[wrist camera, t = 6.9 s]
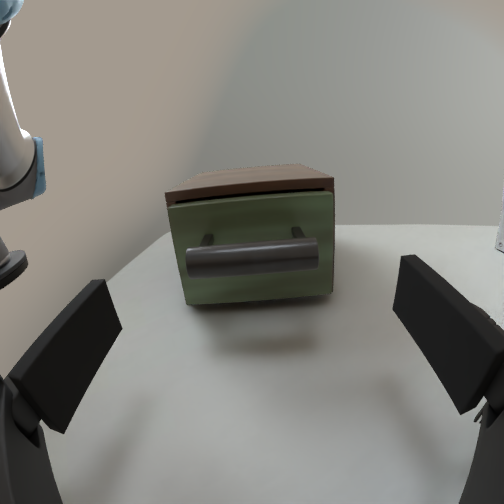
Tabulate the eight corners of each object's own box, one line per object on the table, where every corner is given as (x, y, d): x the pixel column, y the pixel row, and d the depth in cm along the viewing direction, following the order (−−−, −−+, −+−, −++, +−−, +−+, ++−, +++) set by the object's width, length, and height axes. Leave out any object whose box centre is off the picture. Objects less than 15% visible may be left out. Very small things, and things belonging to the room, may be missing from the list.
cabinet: (332, 292, 22) (334, 177, 19) (186, 303, 23) (164, 192, 19) (303, 234, 37) (299, 163, 33) (211, 242, 37) (201, 172, 34)
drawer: (350, 334, 16) (360, 210, 13) (170, 347, 16) (138, 230, 13) (301, 235, 34) (299, 172, 31) (211, 242, 34) (203, 181, 32)
